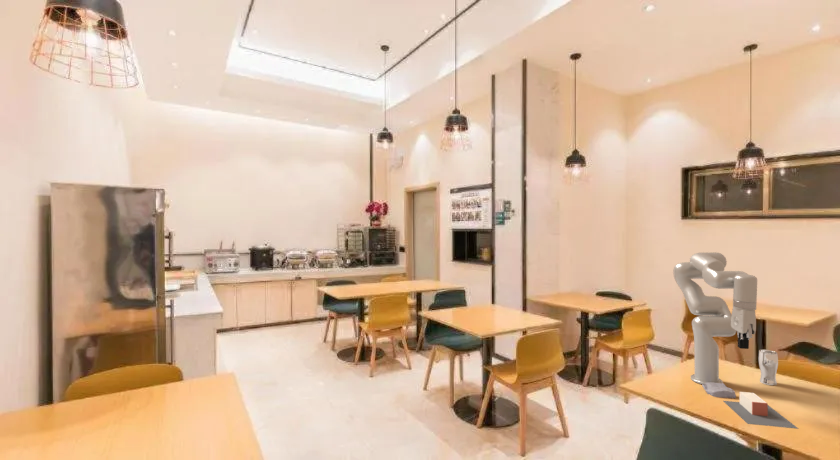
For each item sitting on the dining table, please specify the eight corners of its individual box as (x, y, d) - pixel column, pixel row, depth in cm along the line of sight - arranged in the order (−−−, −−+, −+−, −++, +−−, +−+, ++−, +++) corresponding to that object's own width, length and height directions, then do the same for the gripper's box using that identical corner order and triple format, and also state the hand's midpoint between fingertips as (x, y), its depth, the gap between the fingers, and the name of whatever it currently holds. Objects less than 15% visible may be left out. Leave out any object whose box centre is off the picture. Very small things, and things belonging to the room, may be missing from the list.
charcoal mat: (722, 402, 170) (722, 400, 170) (767, 406, 166) (767, 404, 166) (747, 425, 151) (747, 423, 151) (798, 430, 147) (798, 428, 147)
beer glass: (776, 381, 191) (776, 350, 190) (779, 387, 185) (779, 355, 184) (757, 379, 194) (757, 348, 194) (760, 384, 188) (760, 352, 188)
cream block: (752, 414, 158) (739, 403, 167) (767, 416, 156) (753, 404, 166) (752, 402, 158) (739, 391, 167) (767, 403, 156) (753, 392, 166)
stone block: (713, 403, 174) (739, 400, 172) (711, 392, 174) (736, 389, 172) (699, 393, 185) (723, 390, 184) (697, 382, 186) (720, 379, 184)
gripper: (725, 299, 172) (723, 341, 174) (743, 309, 158) (742, 354, 159) (745, 300, 171) (744, 342, 172) (765, 309, 156) (764, 355, 157)
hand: (743, 347), depth 166 cm, fingers closed
